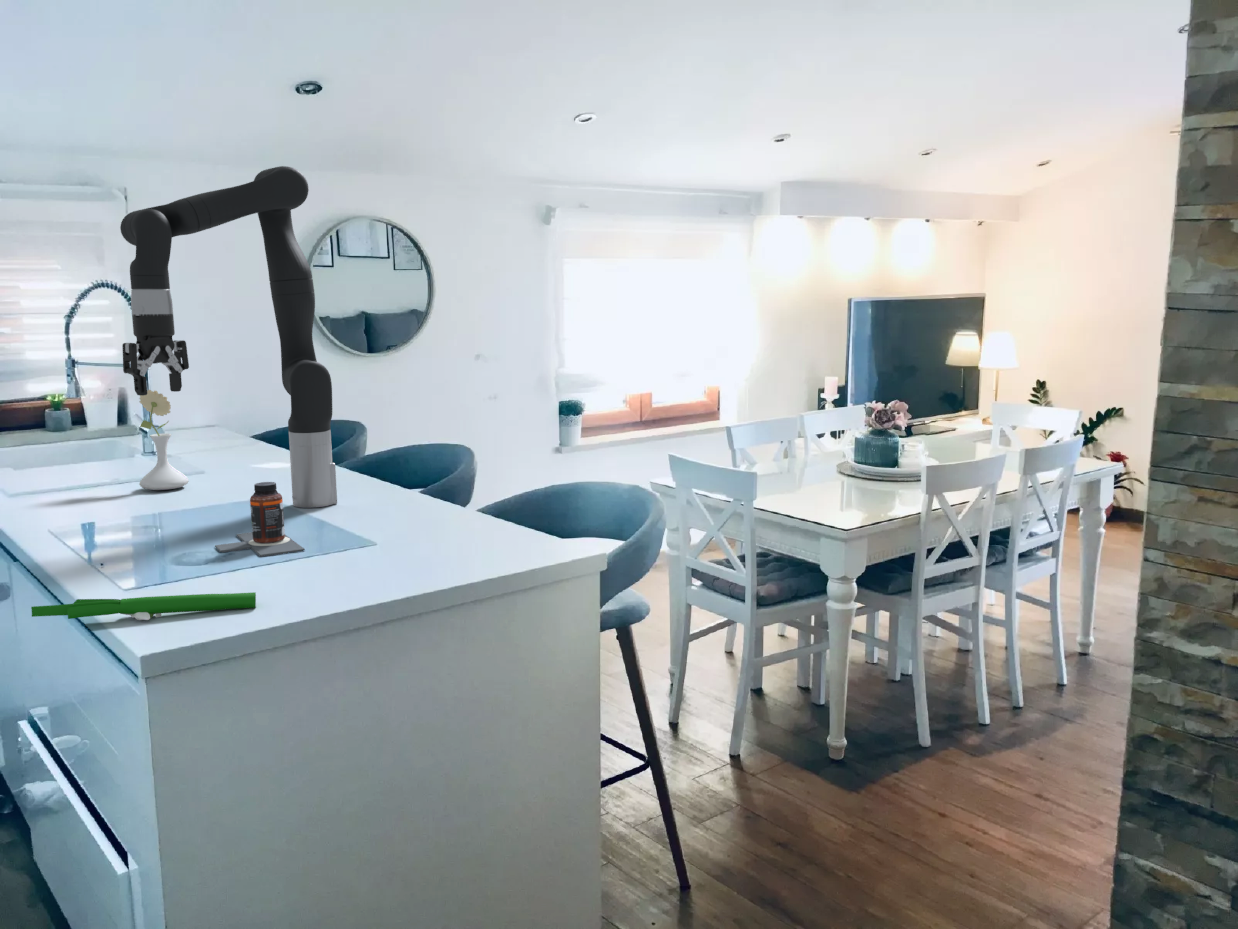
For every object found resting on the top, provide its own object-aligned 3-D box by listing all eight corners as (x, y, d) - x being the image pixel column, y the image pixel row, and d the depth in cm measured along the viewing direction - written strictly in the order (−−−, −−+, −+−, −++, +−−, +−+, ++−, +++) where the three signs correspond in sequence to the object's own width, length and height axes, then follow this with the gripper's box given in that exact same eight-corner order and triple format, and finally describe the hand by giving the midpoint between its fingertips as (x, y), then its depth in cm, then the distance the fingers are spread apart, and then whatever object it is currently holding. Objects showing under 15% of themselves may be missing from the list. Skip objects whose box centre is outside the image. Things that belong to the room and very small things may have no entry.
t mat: (277, 530, 202) (277, 528, 202) (304, 550, 185) (304, 548, 185) (207, 539, 195) (207, 537, 195) (229, 561, 178) (229, 558, 178)
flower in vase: (198, 487, 251) (191, 389, 247) (157, 494, 241) (148, 392, 237) (168, 482, 258) (160, 387, 254) (126, 489, 248) (117, 390, 244)
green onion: (255, 609, 153) (35, 620, 143) (255, 588, 153) (34, 598, 143) (255, 618, 149) (28, 630, 139) (255, 597, 148) (27, 608, 138)
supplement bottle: (292, 538, 193) (288, 481, 191) (269, 545, 188) (265, 487, 186) (268, 535, 196) (265, 479, 194) (245, 542, 190) (242, 484, 188)
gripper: (166, 312, 206) (172, 389, 208) (108, 312, 193) (115, 395, 195) (194, 312, 203) (200, 390, 205) (137, 312, 190) (144, 397, 192)
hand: (159, 393), depth 200 cm, fingers open, 8 cm apart
